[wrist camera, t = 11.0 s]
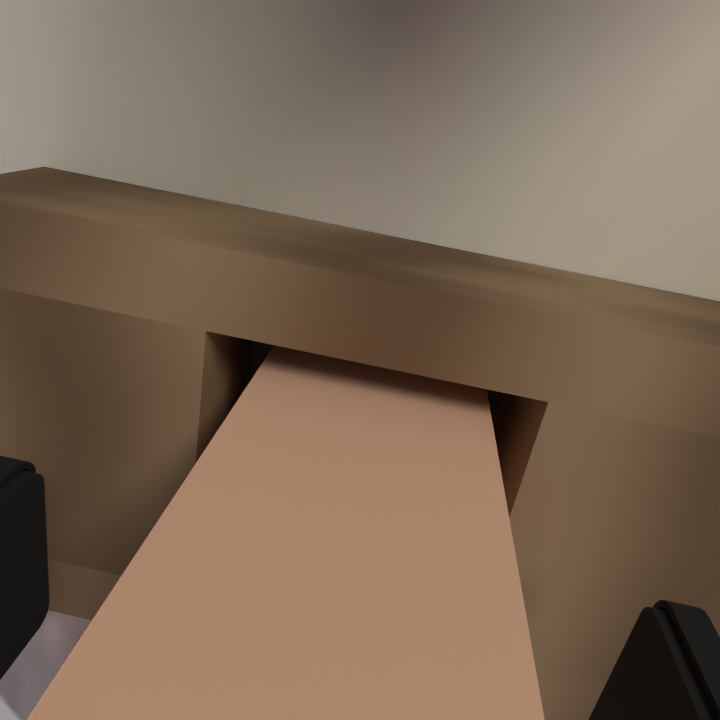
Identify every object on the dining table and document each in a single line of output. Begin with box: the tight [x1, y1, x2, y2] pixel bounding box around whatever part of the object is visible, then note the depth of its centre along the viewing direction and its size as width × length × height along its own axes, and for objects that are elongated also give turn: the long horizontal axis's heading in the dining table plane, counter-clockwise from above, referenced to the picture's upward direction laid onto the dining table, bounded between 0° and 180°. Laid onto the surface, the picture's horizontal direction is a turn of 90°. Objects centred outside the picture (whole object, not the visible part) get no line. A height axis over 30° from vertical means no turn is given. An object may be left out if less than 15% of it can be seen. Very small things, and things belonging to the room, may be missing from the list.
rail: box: [0, 167, 720, 720], centre depth 13 cm, size 30×9×4 cm, turn 80°
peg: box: [26, 345, 545, 720], centre depth 9 cm, size 4×4×12 cm
